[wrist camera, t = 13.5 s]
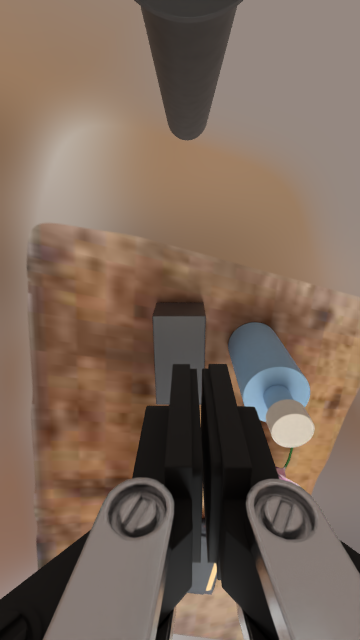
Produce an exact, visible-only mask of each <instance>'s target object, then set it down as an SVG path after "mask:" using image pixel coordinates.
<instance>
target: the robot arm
mask: <svg viewBox="0 0 360 640" xmlns="http://www.w3.org/2000/svg"><path fill="white" fill-rule="evenodd" d="M202 493H204V510H205V527H206V543H207V559H208V563H216V567H217V579H218V580H221V583H222V588H223V589H224V590H225V591H226V592H227V593H228V594H229V595H230V596H231V597H232V598H233V600H234V601H235V602H236V604H237V613H238V617H239V621H240V626H241V630H242V634H243V638H244V640H360V554H359V553H357V552H356V551H354V550H353V549H352V548H350V547H349V546H347V545H346V544H345V543H343V542H342V541H340V540H339V539H338V537H337V535H336V534H335V532H334V530H333V529H332V527H331V525H330V524H329V522H328V520H327V519H326V517H325V515H324V514H323V512H322V510H321V509H320V507H319V505H318V504H317V503H316V502H315V501H314V499H313V498H312V496H311V495H310V494H309V493H307V492H306V491H305V490H304V489H302V488H301V487H299V486H297V485H295V484H294V483H292V482H289V481H285V480H281V479H279V476H278V473H277V470H276V467H275V464H274V461H273V458H272V455H271V452H270V449H269V446H268V443H267V440H266V437H265V434H264V431H263V428H262V425H261V422H260V419H259V416H258V413H257V411H256V408H255V407H251V406H237V404H236V400H235V396H234V392H233V388H232V384H231V380H230V375H229V371H228V367H227V364H209V368H208V369H202V396H201V425H200V410H199V394H198V378H197V369H190V364H173V368H172V380H171V392H170V404H169V406H147V407H146V411H145V416H144V421H143V426H142V431H141V436H140V441H139V447H138V452H137V457H136V462H135V467H134V472H133V477H132V479H130V480H126V481H125V482H123V483H121V484H119V485H117V486H116V487H115V488H114V489H113V490H112V491H111V492H110V493H109V494H108V496H107V497H106V499H105V500H104V502H103V504H102V506H101V508H100V511H99V513H98V515H97V518H96V520H95V522H94V524H93V527H92V529H91V530H90V531H89V532H87V533H86V534H85V535H83V536H82V537H81V538H80V539H78V540H77V541H76V542H74V543H73V544H72V545H70V546H69V547H68V548H67V549H65V550H64V551H63V552H61V553H60V554H59V555H58V556H56V557H55V558H54V559H52V560H51V561H50V562H48V563H47V564H46V565H45V566H43V567H42V568H41V569H39V570H38V571H37V572H36V573H34V574H33V575H32V576H30V577H29V578H28V579H26V580H25V581H24V582H22V583H21V584H20V585H19V586H17V587H16V588H15V589H13V590H12V591H11V592H9V594H7V595H6V596H4V597H3V598H2V599H0V640H172V637H173V630H174V623H175V616H176V605H177V604H178V603H179V601H180V600H181V599H182V598H183V597H184V596H185V594H186V593H187V592H188V591H189V590H190V588H191V587H192V563H201V532H202Z"/></svg>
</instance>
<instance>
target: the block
mask: <svg viewBox="0 0 360 640" xmlns="http://www.w3.org/2000/svg"><path fill="white" fill-rule="evenodd" d="M205 324H206V315H205V310H204V304H203V303H156V307H155V310H154V313H153V338H154V361H155V384H156V404H170V392H171V380H172V368H173V364H190V369H197V378H198V394H199V405H201V396H202V369H204V366H205Z"/></svg>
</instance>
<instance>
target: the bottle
mask: <svg viewBox="0 0 360 640" xmlns="http://www.w3.org/2000/svg"><path fill="white" fill-rule="evenodd" d="M228 349H229V353H230V357H231V360H232V364H233V367H234V371H235V374H236V378H237V381H238V385H239V389H240V392H241V396H242V399H243V403H244V406H251V407H255V408H256V411H257V413H258V416H259V419H260V420H261V421H264V422H267V425H268V428H269V430H270V433H271V436H272V438H273V440H274V441H275V442H276V443H277V444H279V445H281V446H283V447H289V448H292V447H298V446H301V445H303V444H305V443H306V442H308V441H309V440H310V439H311V437H312V436H313V433H314V424H313V421H312V420H311V418H310V416H309V414H308V413H307V411H306V409H305V406H306V405H307V403H308V401H309V397H310V387H309V383H308V381H307V379H306V378H305V376H304V375H303V373H302V372H301V370H300V369H299V368H298V366H297V365H296V363H295V362H294V360H293V359H292V357H291V356H290V354H289V353H288V351H287V350H286V348H285V347H284V345H283V344H282V342H281V341H280V339H279V338H278V336H277V335H276V334H275V332H274V331H273V330H272V329H271V328H270V327H269V326H267V325H265V324H263V323H257V322H252V323H247V324H244V325H242V326H240V327H239V328H237V329H236V330H235V331H234V332H233V334H232V335H231V337H230V339H229V343H228Z"/></svg>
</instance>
